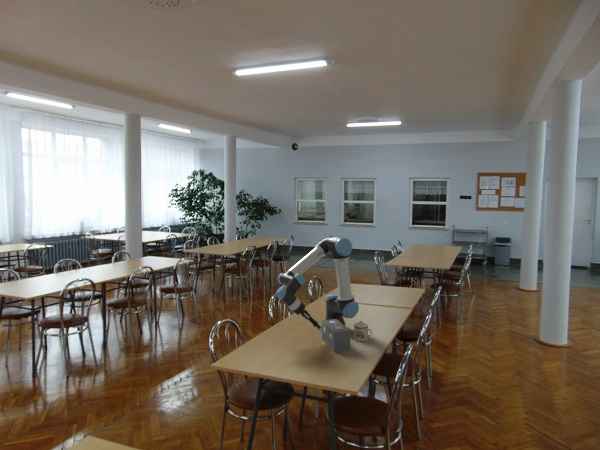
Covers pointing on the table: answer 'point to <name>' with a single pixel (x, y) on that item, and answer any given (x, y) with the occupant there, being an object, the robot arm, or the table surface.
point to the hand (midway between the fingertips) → (322, 330)
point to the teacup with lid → (361, 331)
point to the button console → (336, 335)
